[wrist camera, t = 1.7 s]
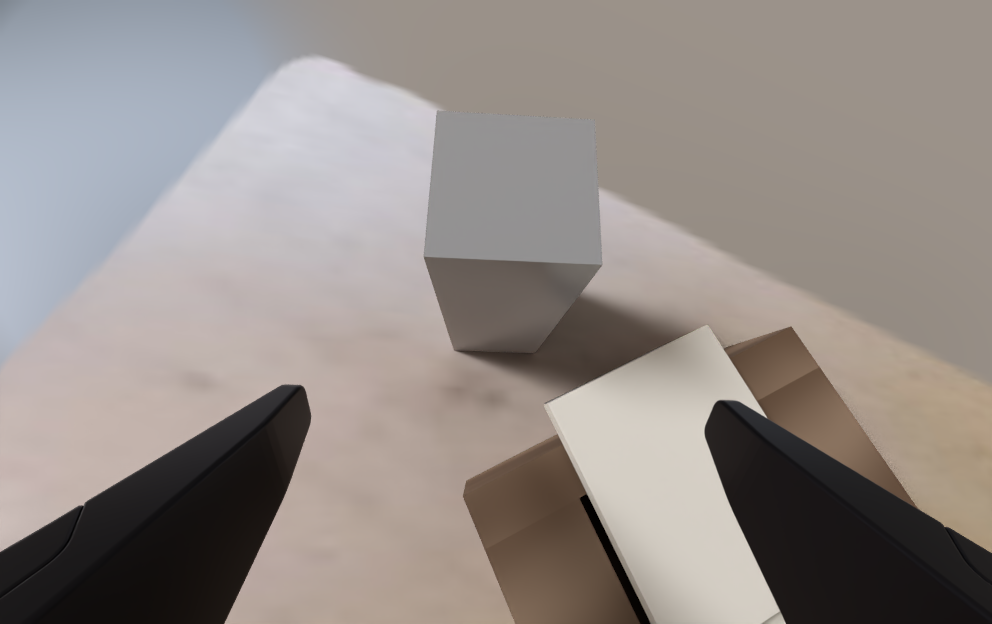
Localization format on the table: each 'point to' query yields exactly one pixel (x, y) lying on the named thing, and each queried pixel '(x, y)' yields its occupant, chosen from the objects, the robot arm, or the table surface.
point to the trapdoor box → (557, 488)
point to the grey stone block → (511, 225)
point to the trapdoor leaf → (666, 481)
